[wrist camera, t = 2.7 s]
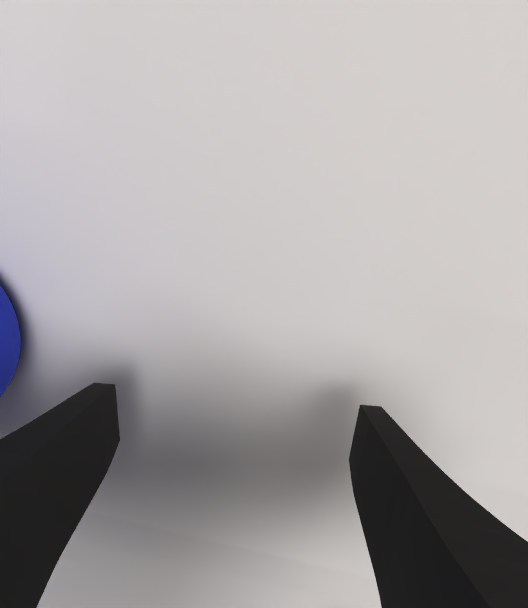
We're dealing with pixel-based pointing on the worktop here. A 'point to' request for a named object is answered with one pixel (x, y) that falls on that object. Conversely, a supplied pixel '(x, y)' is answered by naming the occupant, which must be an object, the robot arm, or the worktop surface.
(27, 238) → the worktop surface
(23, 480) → the robot arm
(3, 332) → the mug
